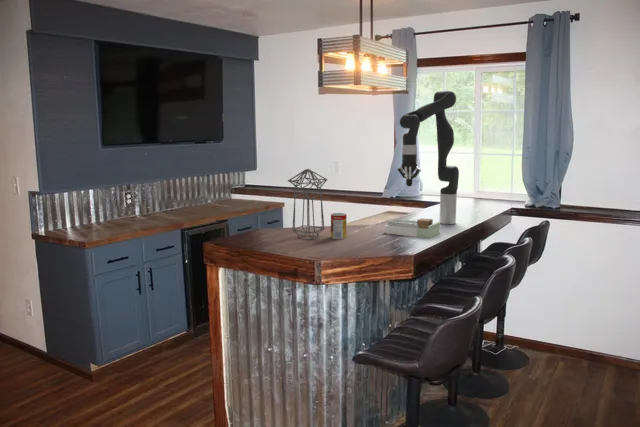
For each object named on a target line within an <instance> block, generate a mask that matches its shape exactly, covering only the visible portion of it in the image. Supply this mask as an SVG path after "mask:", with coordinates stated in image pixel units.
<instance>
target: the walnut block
mask: <svg viewBox="0 0 640 427" xmlns="http://www.w3.org/2000/svg"><path fill="white" fill-rule="evenodd" d="M416 221H417V224H419V228H426V229H428V226H430V225H432V224H434V223H433V219H432V218H418V219H416Z"/></svg>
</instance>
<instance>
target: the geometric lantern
mask: <svg viewBox="0 0 640 427" xmlns="http://www.w3.org/2000/svg"><path fill="white" fill-rule="evenodd" d="M307 175H308V177H307ZM317 176H318V177H320V178H318V177H317ZM293 179H294V180H293ZM305 180H306V181H308V182H304V181H305ZM312 181H313V182H312ZM327 181H328V178H327V177H324V176H323V175H320V174H318V173H317V172H316V171H315V172H314V171H313V170H312V169H310V168H306V169H304V170H303V171H301V172H299V173H298V174H296V175H295V176H292V177H291V178H290V179H288V180H287V182H289V183H290V184H292V185H293V186H294V188H293V197H294V201H293V214H292V217H293V218H292V228H291V229H292V231H293V233H295V234H296V235H297V239H299V240H308V241H312V240H316V239H318V238H319V234H320V233H321V232H323V231H324V230H325V220H324V218H325V217H324V207H323V206H324V205H323V197H322V196H323V194H322V187H323V186H324V185H325V183H326V182H327ZM304 184H305V185H304ZM302 185H304V186H302ZM309 185H311V186H310V187H309V189H308V190H307V192H306V190H305V189H304V188H306V187H308V186H309ZM313 186H315V187H316V189H315V192H314V193H312V195H313V196H312V197H310V196H309V195H311V193H309V192H310V191H311V189H312V187H313ZM296 189H297V191H296ZM299 190H302V191H303V192H302V193H299V194H298V192H299ZM318 190H319V192H320V194H319V193H317V191H318ZM300 195H303V196H300ZM315 195H316V196H315ZM299 196H300V198H303V199H302V200H303V201H302V202H303V204H302V221H301V222H302V224H301V226H297V227H296V198H299ZM317 197H318V198H319V197H320V213H321V216H320V218H321V226H316V225H315V214H314V212H315V210H314V199H315V198H317ZM305 199H306V217H307V218H306V225H304V222H305V221H304V219H305V216H304V215H305V214H304V213H305ZM310 200H311V205H312V206H311V207H312V222H313V223H312V225H310V224H311V223H310ZM304 227H306V230H305V229H304ZM300 228H302V229H303V230H297V229H300ZM311 228H313V231H311V230H310V229H311ZM316 228H317V229H318V230H316ZM307 234H308V235H307ZM311 234H312V235H311ZM303 237H309V238H303Z"/></svg>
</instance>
